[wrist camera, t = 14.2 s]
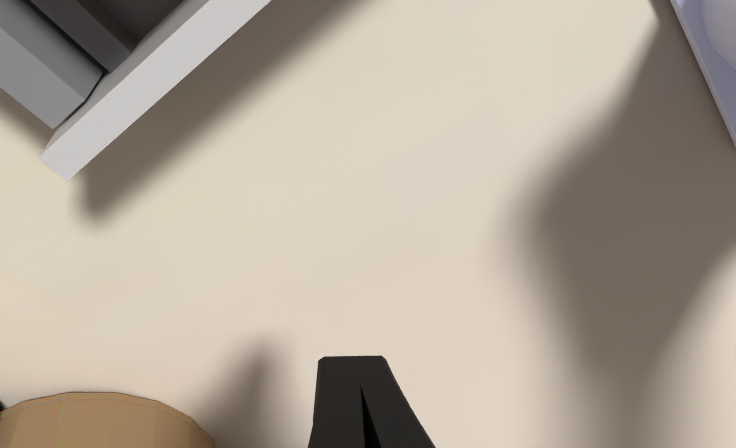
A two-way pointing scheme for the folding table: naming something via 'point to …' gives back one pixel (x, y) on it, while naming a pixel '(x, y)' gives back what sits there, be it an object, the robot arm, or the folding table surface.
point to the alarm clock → (98, 423)
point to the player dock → (43, 63)
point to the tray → (133, 62)
